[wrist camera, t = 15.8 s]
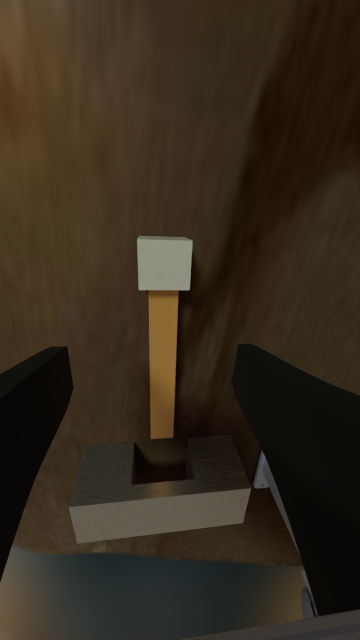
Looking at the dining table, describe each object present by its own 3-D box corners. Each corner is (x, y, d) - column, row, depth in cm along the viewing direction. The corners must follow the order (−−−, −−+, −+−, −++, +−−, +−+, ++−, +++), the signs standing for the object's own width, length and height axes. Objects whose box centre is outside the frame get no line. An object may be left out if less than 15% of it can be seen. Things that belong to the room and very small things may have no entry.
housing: (230, 434, 25) (251, 488, 20) (225, 466, 27) (242, 523, 22) (86, 445, 23) (68, 507, 18) (91, 479, 25) (77, 543, 20)
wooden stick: (177, 419, 23) (181, 446, 20) (144, 421, 23) (143, 449, 20) (185, 237, 17) (192, 240, 14) (139, 235, 16) (137, 239, 13)
